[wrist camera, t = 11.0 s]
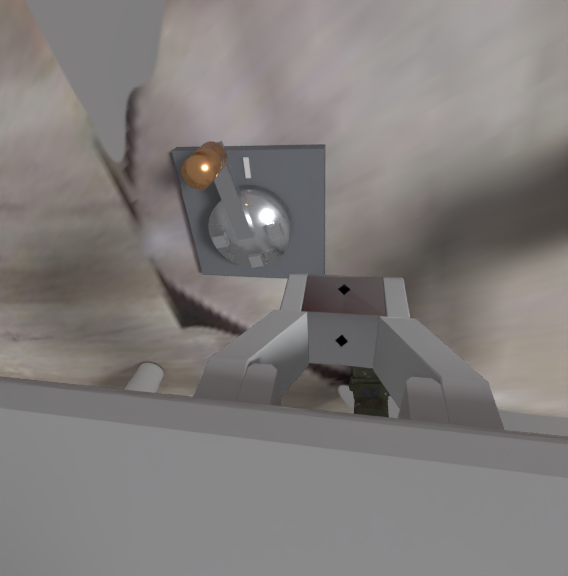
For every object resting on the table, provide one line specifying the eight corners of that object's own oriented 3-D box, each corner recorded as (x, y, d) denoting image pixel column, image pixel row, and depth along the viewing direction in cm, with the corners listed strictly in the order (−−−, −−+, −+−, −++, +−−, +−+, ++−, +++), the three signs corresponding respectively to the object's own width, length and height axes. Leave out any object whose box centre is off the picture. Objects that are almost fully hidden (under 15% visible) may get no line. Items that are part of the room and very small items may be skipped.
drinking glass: (164, 384, 76) (129, 452, 64) (134, 371, 75) (92, 438, 63) (172, 367, 72) (136, 437, 60) (140, 353, 71) (97, 422, 59)
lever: (300, 249, 47) (290, 292, 40) (232, 259, 50) (211, 302, 43) (262, 118, 38) (239, 145, 31) (181, 141, 41) (143, 170, 34)
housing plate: (325, 144, 40) (324, 149, 39) (324, 273, 51) (323, 281, 50) (176, 147, 43) (170, 151, 42) (206, 268, 54) (202, 275, 53)
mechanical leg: (391, 410, 67) (409, 599, 40) (352, 408, 69) (345, 589, 42) (389, 348, 62) (409, 518, 35) (347, 348, 64) (335, 511, 37)
